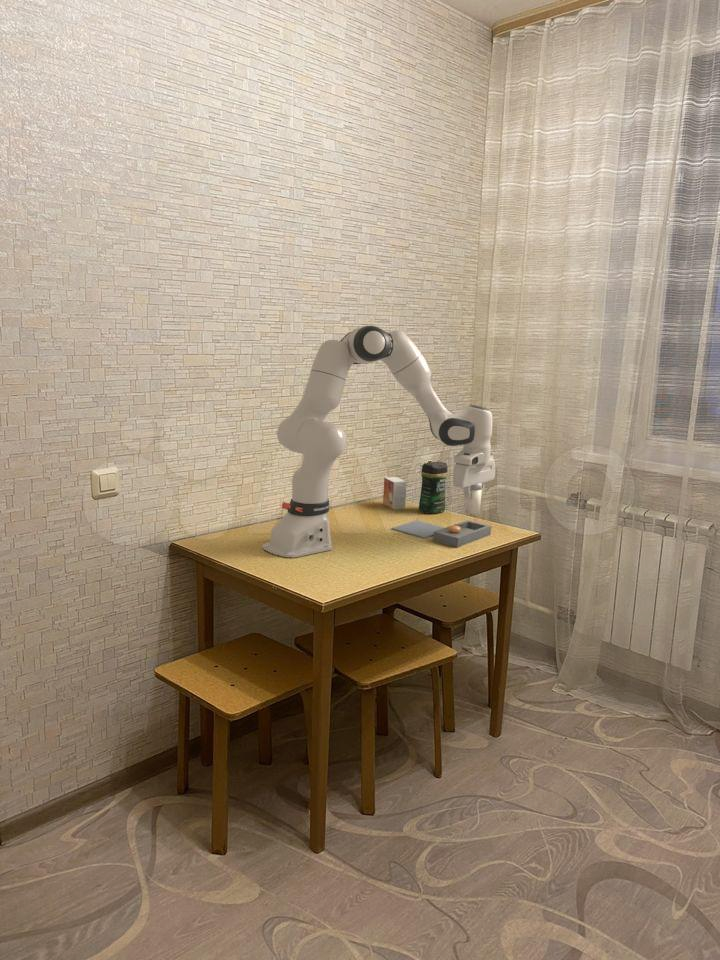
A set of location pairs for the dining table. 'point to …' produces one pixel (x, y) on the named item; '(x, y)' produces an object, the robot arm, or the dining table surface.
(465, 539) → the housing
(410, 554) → the dining table surface
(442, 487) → the coffee jar
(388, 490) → the small box
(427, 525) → the mat
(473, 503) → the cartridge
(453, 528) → the orange flat dome
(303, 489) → the robot arm
